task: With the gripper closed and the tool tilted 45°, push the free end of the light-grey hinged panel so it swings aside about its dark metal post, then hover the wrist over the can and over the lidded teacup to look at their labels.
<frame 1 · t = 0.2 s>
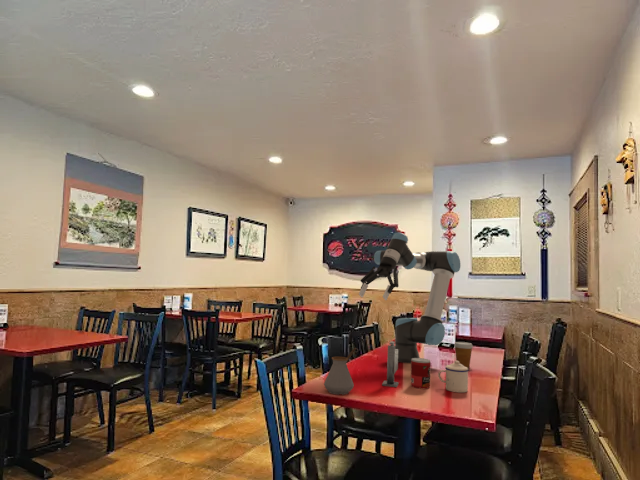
hand: (372, 297, 202), 35 cm above the table, tool tilted 35°, fingers open, 13 cm apart
swing panel: (394, 356, 195), point 10 cm above the table, hinge at 0.0°
coffee pot: (344, 389, 174), on the table
post: (390, 384, 185), on the table
disposable coffee cup: (463, 366, 232), on the table
canned food: (420, 387, 184), on the table
teacup with lid: (452, 390, 181), on the table
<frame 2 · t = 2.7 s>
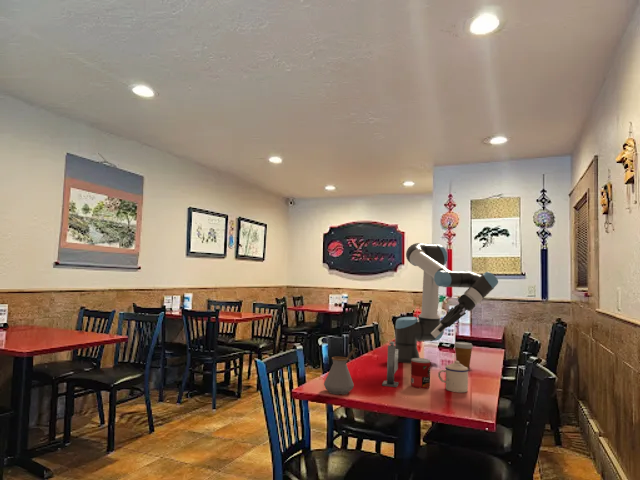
hand: (433, 335, 199), 19 cm above the table, tool tilted 45°, fingers closed
nothing on the table moved.
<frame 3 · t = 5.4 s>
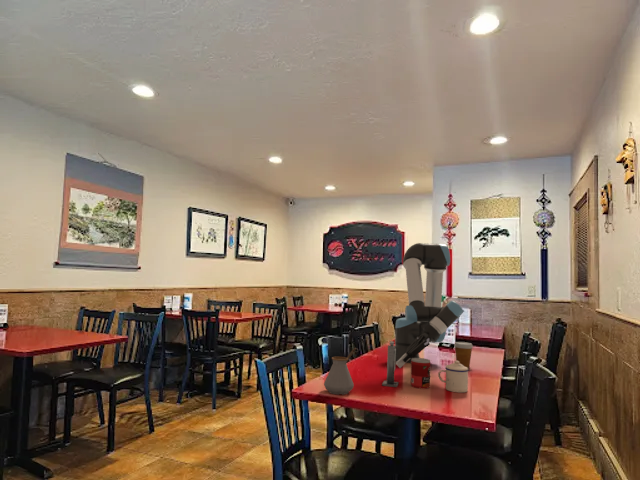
hand: (397, 365, 198), 5 cm above the table, tool tilted 45°, fingers closed
swing panel: (392, 356, 195), point 10 cm above the table, hinge at 3.4°, touching gripper
everything else where it was.
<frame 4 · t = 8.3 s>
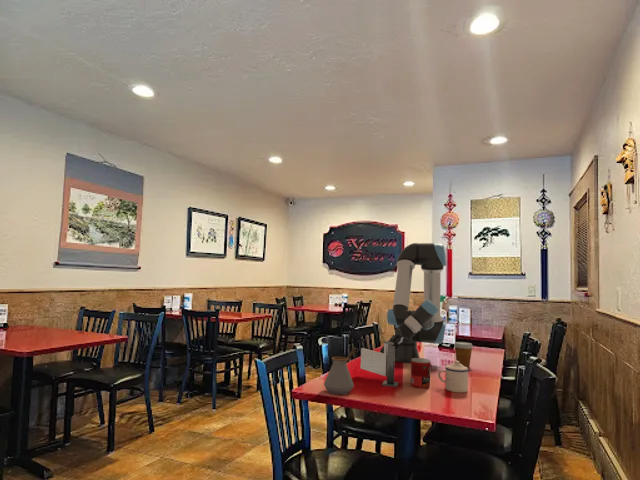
hand: (372, 364, 199), 5 cm above the table, tool tilted 45°, fingers closed
swing panel: (376, 356, 193), point 10 cm above the table, hinge at 49.9°, touching gripper
everything else where it was.
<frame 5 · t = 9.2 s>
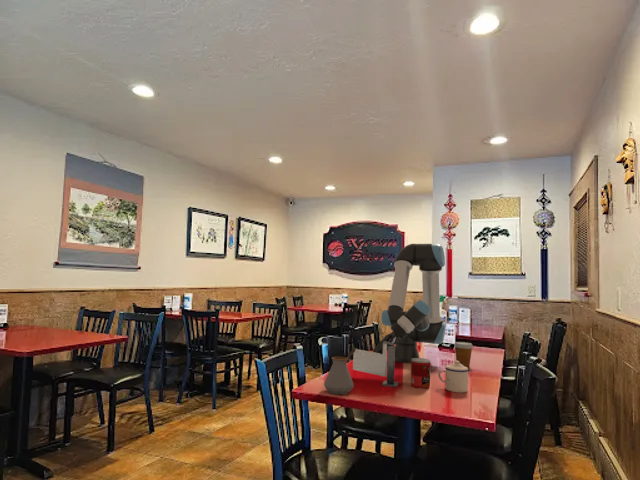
hand: (364, 364, 197), 6 cm above the table, tool tilted 45°, fingers closed
swing panel: (372, 356, 192), point 10 cm above the table, hinge at 64.4°
everything else where it was.
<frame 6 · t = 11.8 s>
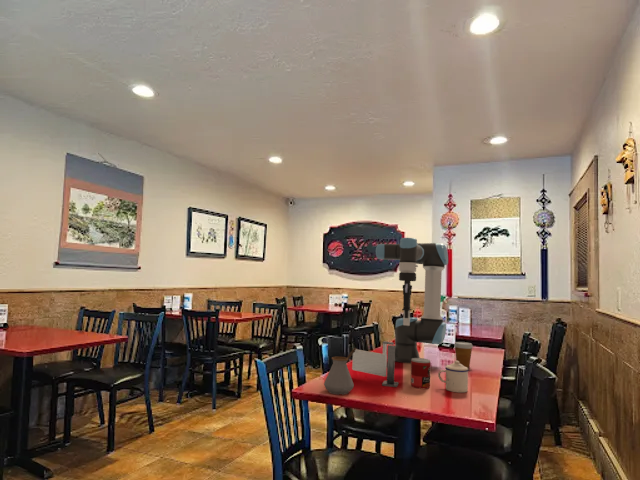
hand: (406, 325, 197), 24 cm above the table, tool pointing down, fingers closed
swing panel: (372, 356, 192), point 10 cm above the table, hinge at 66.1°
everything else where it was.
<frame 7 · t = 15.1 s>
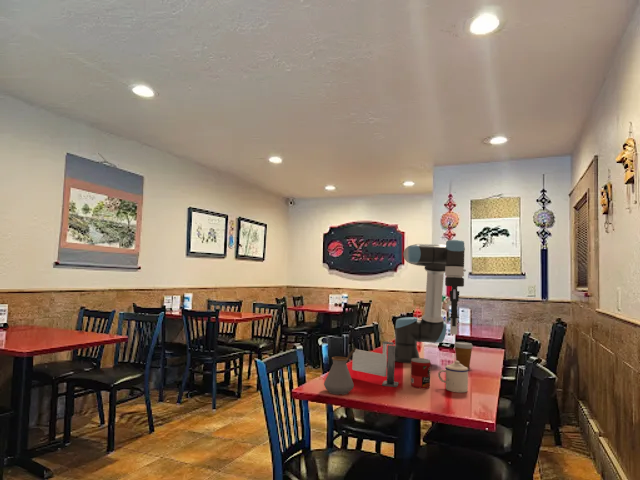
hand: (453, 334, 183), 22 cm above the table, tool pointing down, fingers closed
nothing on the table moved.
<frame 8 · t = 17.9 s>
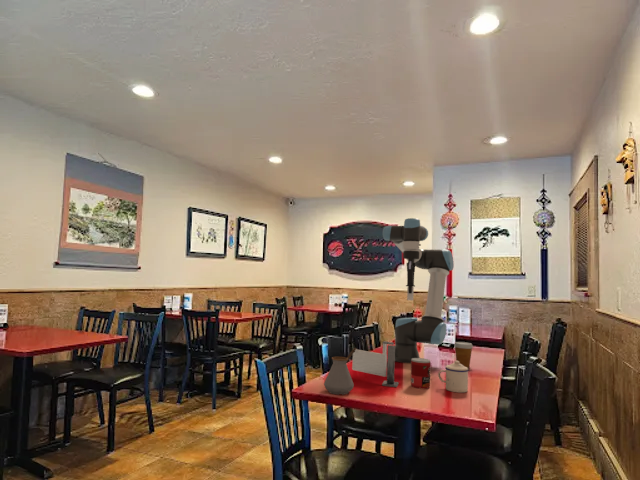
hand: (410, 300, 210), 34 cm above the table, tool pointing down, fingers closed
nothing on the table moved.
at the end: swing panel at +66° (first picture: +0°); canned food moved 0.2 cm from its start; teacup with lid moved 0.2 cm from its start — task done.
